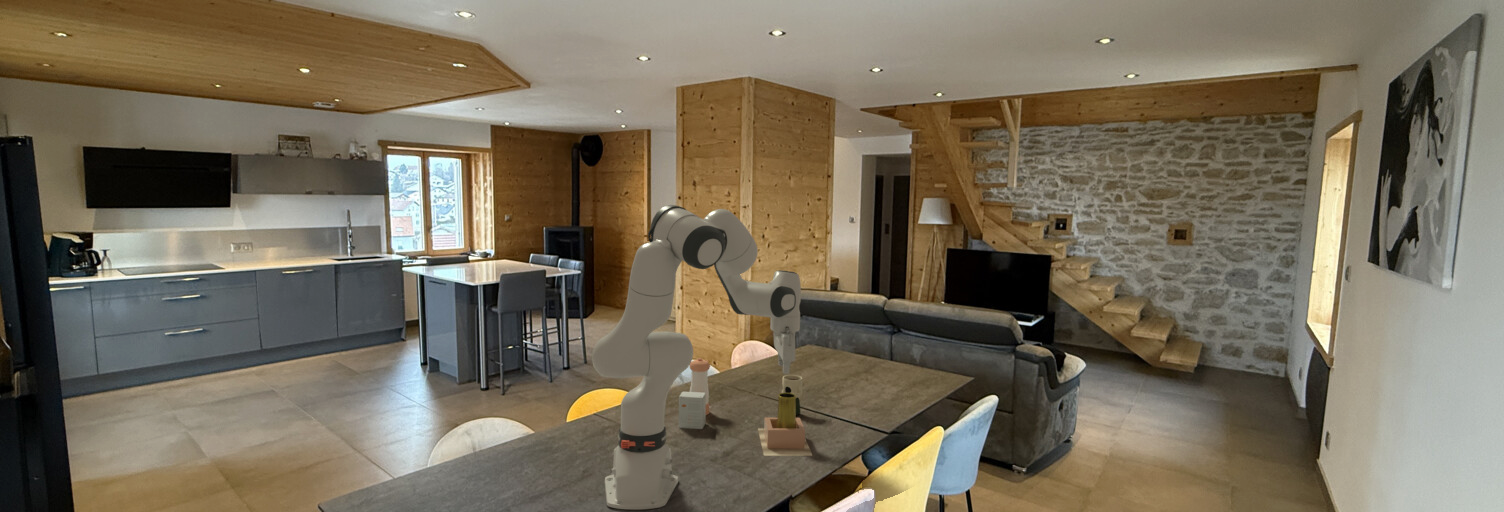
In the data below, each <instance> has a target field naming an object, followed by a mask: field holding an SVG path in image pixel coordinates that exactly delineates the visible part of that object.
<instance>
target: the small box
mask: <svg viewBox="0 0 1504 512" xmlns="http://www.w3.org/2000/svg"><path fill="white" fill-rule="evenodd" d="M706 416H707V415H706V393H701V392H690V391H682V392H681V393H680V395H679V396H678V428H679V429H690V430H691V429H692V430H703V429H704V427H705V425H706Z"/></svg>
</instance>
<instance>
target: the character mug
mask: <svg viewBox="0 0 1504 512" xmlns="http://www.w3.org/2000/svg"><path fill="white" fill-rule="evenodd" d="M803 380H804V378H803V377H802V376H801V375H796V374H785V375H783V376H782V383H781V384H782V388H781V393H792V394H795V395H796V415H800V414H801V404H800V403H801V401H800V399H799V398H801V397H802V396H803V384H804V383H803V382H804V381H803Z"/></svg>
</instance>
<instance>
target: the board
mask: <svg viewBox="0 0 1504 512" xmlns="http://www.w3.org/2000/svg"><path fill="white" fill-rule="evenodd" d="M757 431H758V432H757V433H758V435H759V440H760V444H761V449H762V454H763V456H764V457H768V456H769V457H812V456H813V454H812V451H811V448H810V446H809V444H808V441H807V439H806V438H805V447H804V448H767V445H766V441H765V437H764V428H757Z"/></svg>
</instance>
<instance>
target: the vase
mask: <svg viewBox="0 0 1504 512" xmlns="http://www.w3.org/2000/svg"><path fill="white" fill-rule="evenodd" d="M777 398H778V399H777V401H778V403H777V404H778V405H777V418H778V421H777V428H796V418H797V417H796V395H795V394H792V393H782V392H780V393H778V397H777Z"/></svg>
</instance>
